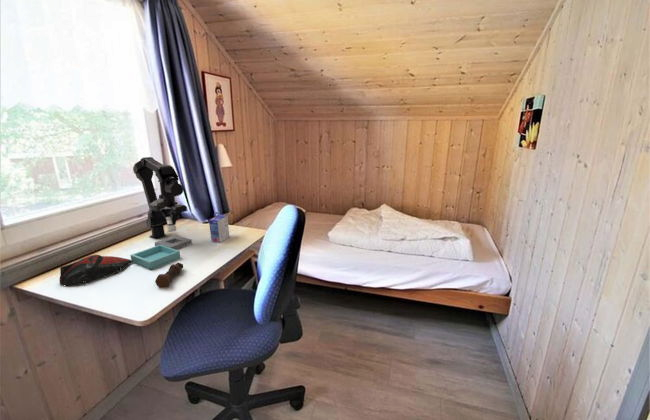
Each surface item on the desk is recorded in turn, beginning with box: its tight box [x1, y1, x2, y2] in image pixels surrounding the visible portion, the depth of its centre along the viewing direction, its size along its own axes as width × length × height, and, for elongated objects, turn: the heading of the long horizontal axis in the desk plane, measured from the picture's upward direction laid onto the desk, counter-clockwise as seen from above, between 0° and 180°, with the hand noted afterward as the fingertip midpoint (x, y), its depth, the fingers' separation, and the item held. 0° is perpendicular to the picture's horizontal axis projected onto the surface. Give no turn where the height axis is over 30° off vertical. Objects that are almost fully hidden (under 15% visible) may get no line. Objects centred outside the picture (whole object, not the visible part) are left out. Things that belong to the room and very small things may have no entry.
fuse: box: [166, 216, 177, 233], centre depth 153 cm, size 4×4×7 cm
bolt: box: [154, 262, 184, 289], centre depth 124 cm, size 6×5×15 cm
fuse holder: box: [154, 234, 193, 250], centre depth 156 cm, size 12×12×2 cm
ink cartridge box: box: [208, 211, 230, 244], centre depth 163 cm, size 10×6×14 cm, turn 167°
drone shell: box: [59, 254, 132, 287], centre depth 126 cm, size 21×20×8 cm
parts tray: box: [129, 245, 182, 271], centre depth 139 cm, size 14×14×4 cm
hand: (171, 223), depth 153 cm, fingers closed on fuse, 4 cm apart
